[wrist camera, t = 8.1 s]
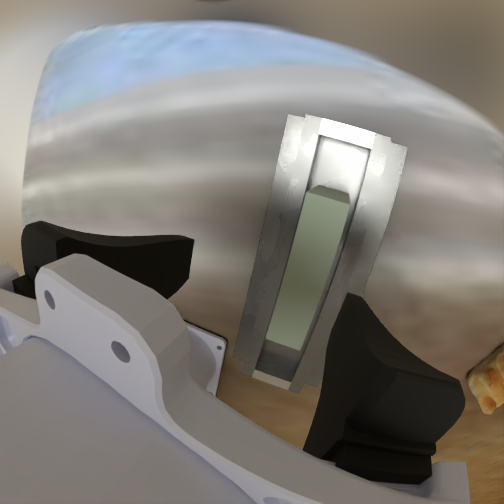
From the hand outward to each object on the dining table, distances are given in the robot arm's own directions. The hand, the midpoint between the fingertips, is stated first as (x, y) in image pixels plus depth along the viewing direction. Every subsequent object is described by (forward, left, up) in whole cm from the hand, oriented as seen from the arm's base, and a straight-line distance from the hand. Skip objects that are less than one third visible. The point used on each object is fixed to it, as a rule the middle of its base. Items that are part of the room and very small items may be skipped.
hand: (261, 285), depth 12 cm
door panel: (0, -2, -8) cm, 8 cm away
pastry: (-5, -23, -9) cm, 26 cm away
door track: (-2, -2, -9) cm, 9 cm away
